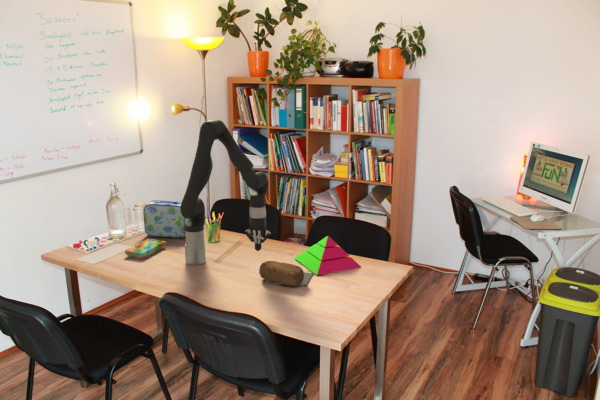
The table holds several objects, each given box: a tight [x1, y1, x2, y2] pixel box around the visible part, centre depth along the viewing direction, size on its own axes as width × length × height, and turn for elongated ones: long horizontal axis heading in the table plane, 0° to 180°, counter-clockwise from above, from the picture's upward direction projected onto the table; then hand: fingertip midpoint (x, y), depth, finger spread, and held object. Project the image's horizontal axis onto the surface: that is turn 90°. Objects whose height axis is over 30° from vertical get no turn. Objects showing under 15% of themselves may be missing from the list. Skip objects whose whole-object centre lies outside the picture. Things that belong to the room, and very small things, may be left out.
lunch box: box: [143, 199, 189, 239], centre depth 308 cm, size 26×11×21 cm, turn 81°
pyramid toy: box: [294, 235, 362, 276], centre depth 266 cm, size 25×25×14 cm
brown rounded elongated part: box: [258, 260, 304, 287], centre depth 245 cm, size 11×8×20 cm
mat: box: [263, 270, 314, 288], centre depth 250 cm, size 20×16×1 cm
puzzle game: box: [124, 238, 167, 260], centre depth 284 cm, size 12×5×20 cm
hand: (258, 250), depth 250 cm, fingers closed
